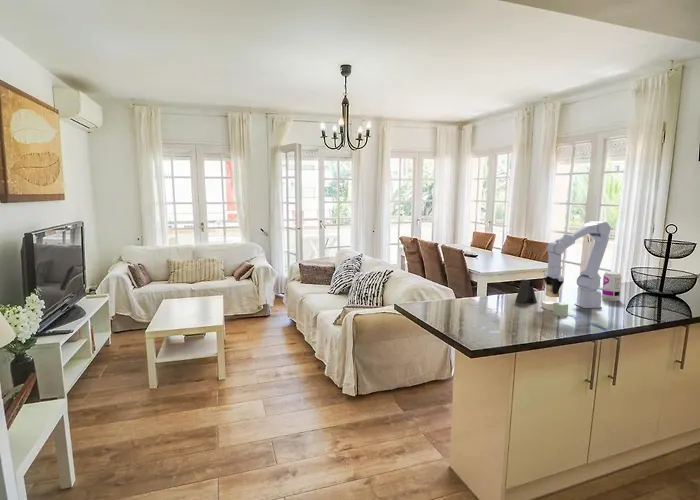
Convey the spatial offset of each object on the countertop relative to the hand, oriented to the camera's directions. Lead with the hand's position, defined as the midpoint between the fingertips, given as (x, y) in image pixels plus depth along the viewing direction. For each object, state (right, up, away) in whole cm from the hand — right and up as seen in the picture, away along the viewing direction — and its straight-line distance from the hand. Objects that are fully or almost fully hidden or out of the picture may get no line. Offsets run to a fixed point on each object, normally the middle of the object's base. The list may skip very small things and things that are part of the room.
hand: (552, 292), depth 198 cm
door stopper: (-7, -7, +14) cm, 17 cm away
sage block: (-2, -10, -10) cm, 14 cm away
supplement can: (+41, -6, +18) cm, 46 cm away
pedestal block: (0, -9, +1) cm, 9 cm away
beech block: (0, -2, 0) cm, 2 cm away
